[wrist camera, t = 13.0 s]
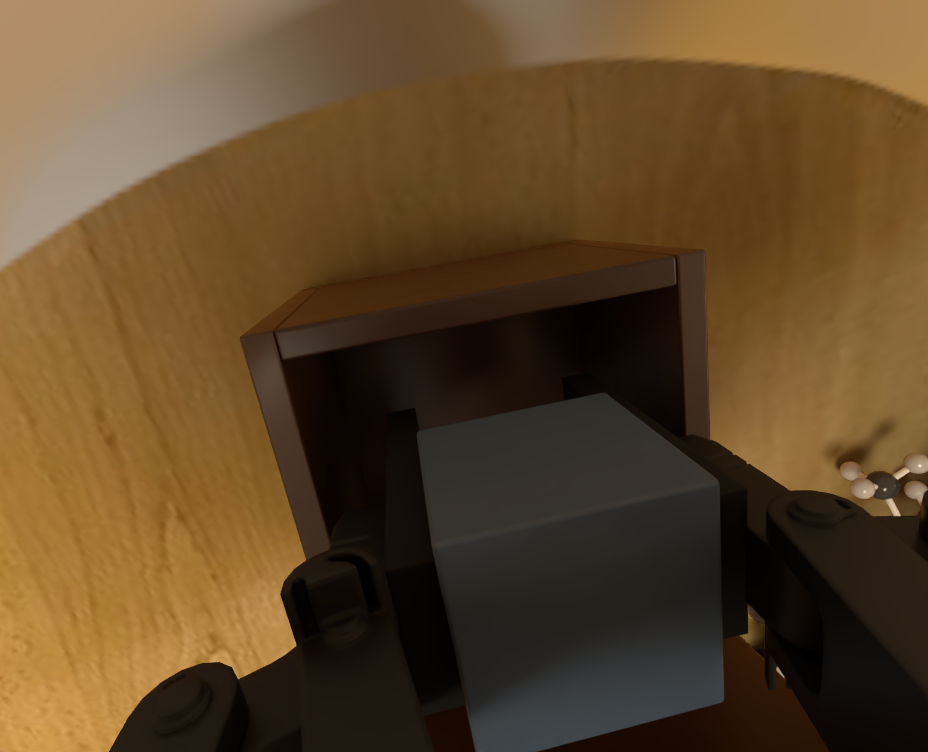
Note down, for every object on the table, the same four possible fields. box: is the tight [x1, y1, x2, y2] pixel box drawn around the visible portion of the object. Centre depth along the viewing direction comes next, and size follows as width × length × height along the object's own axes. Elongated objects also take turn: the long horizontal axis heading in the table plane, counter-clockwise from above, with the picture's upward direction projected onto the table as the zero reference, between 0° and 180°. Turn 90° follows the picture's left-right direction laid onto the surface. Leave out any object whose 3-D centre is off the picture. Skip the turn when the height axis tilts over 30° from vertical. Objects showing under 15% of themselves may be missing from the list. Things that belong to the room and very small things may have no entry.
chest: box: [240, 240, 710, 560], centre depth 17 cm, size 10×10×8 cm
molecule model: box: [748, 453, 928, 677], centre depth 22 cm, size 6×12×8 cm
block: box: [417, 393, 724, 752], centre depth 9 cm, size 4×4×4 cm
